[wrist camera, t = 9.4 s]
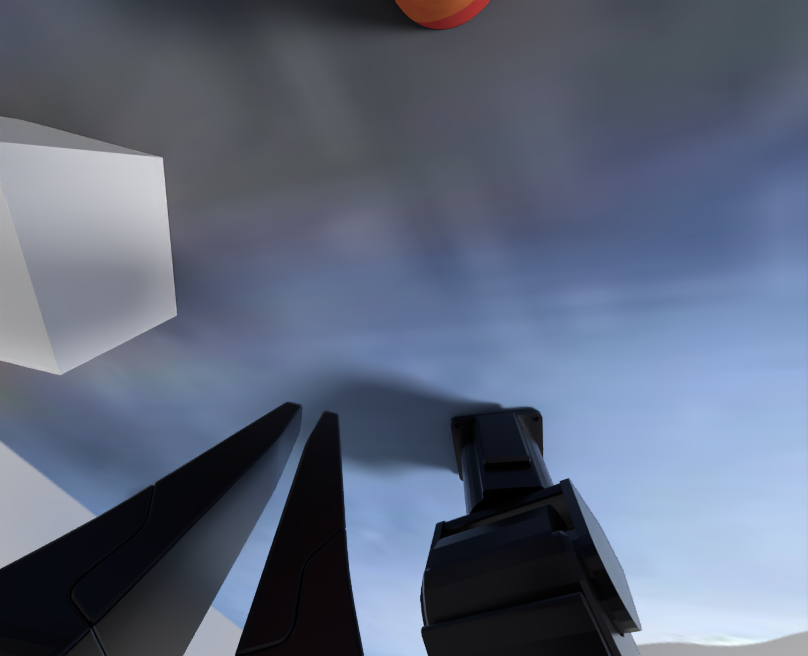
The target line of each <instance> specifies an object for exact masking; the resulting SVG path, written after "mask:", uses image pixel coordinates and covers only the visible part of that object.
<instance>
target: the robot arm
mask: <svg viewBox="0 0 808 656" xmlns="http://www.w3.org/2000/svg"><path fill="white" fill-rule="evenodd" d="M533 416H536V417H534V418H532V417H533ZM301 417H302V405H301V404H297V403H293V402H286V403H284V404H282V405H281V406H279V407H277V408H276V409H274V410H273V411H271V412H269V413H268V414H266V415H264V416H263V417H261V418H260V419H258V420H256V421H255V422H253V423H251V424H250V425H248V426H246V427H245V428H243V429H242V430H240V431H238V432H237V433H235V434H233V435H232V436H230V437H229V438H227V439H225V440H224V441H222V442H220V443H219V444H217V445H216V446H214V447H212V448H211V449H209V450H207V451H206V452H204V453H202V454H201V455H199V456H198V457H196V458H194V459H193V460H191V461H189V462H188V463H186V464H185V465H183V466H181V467H180V468H178V469H176V470H175V471H173V472H172V473H170V474H168V475H167V476H165V477H163V478H162V479H160V480H158V481H157V482H156V483H155V485H150V486H148V487H147V488H145V489H144V490H142V491H140V492H139V493H137V494H135V495H134V496H132V497H130V498H129V499H127V500H125V501H124V502H122V503H120V504H119V505H117V506H115V507H114V508H112V509H110V510H108V511H107V512H105V513H103V514H102V515H100V516H98V517H96V518H95V519H93V520H91V521H89V522H87V523H85V524H84V525H82V526H80V527H78V528H76V529H75V530H73V531H71V532H69V533H67V534H65V535H63V536H62V537H60V538H58V539H56V540H54V541H52V542H50V543H48V544H47V545H45V546H43V547H41V548H39V549H37V550H35V551H34V552H31V553H29V554H28V555H26V556H24V557H22V558H20V559H18V560H16V561H14V562H13V563H11V564H9V565H7V566H5V567H3V568H1V569H0V656H183V655H184V653H185V651H186V649H187V647H188V645H189V644H190V642H191V640H192V638H193V636H194V635H195V633H196V631H197V629H198V627H199V626H200V624H201V622H202V620H203V618H204V616H205V615H206V613H207V611H208V609H209V608H210V606H211V604H212V602H213V600H214V599H215V597H216V595H217V593H218V591H219V590H220V588H221V586H222V584H223V582H224V581H225V579H226V577H227V575H228V573H229V572H230V570H231V568H232V566H233V564H234V563H235V561H236V559H237V557H238V555H239V554H240V552H241V550H242V548H243V546H244V545H245V543H246V541H247V539H248V537H249V535H250V534H251V532H252V530H253V528H254V526H255V525H256V523H257V521H258V519H259V517H260V516H261V514H262V512H263V510H264V508H265V507H266V505H267V503H268V501H269V499H270V498H271V496H272V494H273V492H274V490H275V488H276V486H277V484H278V481H279V479H280V477H281V474H282V472H283V470H284V467H285V465H286V463H287V460H288V458H289V455H290V453H291V451H292V448H293V446H294V444H295V441H296V439H297V436H298V434H299V431H300V426H301ZM455 423H460V424H455ZM451 430H452V436H453V442H454V448H455V453H456V459H457V465H458V471H459V476H460V479H461V480H462V481H463V482H464V492H465V502H466V512H467V515H465V516H462V517H459V518H456V519H453V520H450V521H447V522H445V521H442V522H439V523H437V524H436V527H435V532H434V536H433V540H432V544H431V548H430V552H429V556H428V560H427V564H426V568H425V571H424V575H423V580H422V587H421V595H420V602H421V611H422V617H423V623H424V626H423V627H422V629H421V634H422V638H423V641H424V644H425V647H426V650H427V654H428V656H641V654H640V652H639V650H638V648H637V646H636V643H635V641H634V639H633V637H632V635H631V632H637V631H641V630H642V628H641V624H640V621H639V618H638V615H637V611H636V608H635V605H634V602H633V599H632V596H631V593H630V590H629V587H628V583H627V580H626V577H625V574H624V571H623V569H622V567H621V565H620V563H619V561H618V559H617V557H616V555H615V553H614V551H613V549H612V547H611V545H610V543H609V541H608V539H607V537H606V535H605V533H604V532H603V530H602V528H601V526H600V524H599V523H598V521H597V520H596V518H595V517H594V515H593V514H592V512H591V511H590V509H589V507H588V506H587V504H586V503H585V501H584V500H583V498H582V497H581V495H580V494H579V492H578V491H577V489H576V488H575V486H574V485H573V483H572V482H571V480H570V479H569V478H568V479H565V480H562V481H560V483H559V484H556V485H553V483H552V480H551V478H550V475H549V472H548V470H547V467H546V465H545V462H544V460H543V423H542V415H541V413H540V412H539V411H538V410H523V411H512V412H501V413H491V414H480V415H469V416H458V417H454V418H452V419H451ZM345 528H346V523H345V507H344V491H343V475H342V459H341V443H340V427H339V415H338V413H335V412H330V411H324V412H323V413H322V415H321V417H320V419H319V420H318V422H317V424H316V426H315V428H314V429H313V431H312V433H311V435H310V437H309V438H308V440H307V442H306V445H305V447H304V450H303V453H302V456H301V459H300V462H299V465H298V468H297V471H296V474H295V477H294V480H293V483H292V486H291V489H290V491H289V494H288V497H287V500H286V503H285V506H284V509H283V512H282V515H281V518H280V521H279V524H278V527H277V530H276V533H275V536H274V539H273V542H272V545H271V548H270V551H269V554H268V557H267V560H266V563H265V566H264V569H263V572H262V575H261V578H260V581H259V584H258V587H257V590H256V593H255V596H254V599H253V602H252V605H251V608H250V611H249V614H248V617H247V620H246V623H245V626H244V629H243V632H242V635H241V638H240V641H239V644H238V647H237V650H236V653H235V656H364V653H363V648H362V642H361V637H360V632H359V626H358V621H357V616H356V610H355V605H354V598H353V592H352V586H351V579H350V572H349V561H348V551H347V536H346V530H345Z"/></svg>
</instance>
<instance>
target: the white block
mask: <svg viewBox="0 0 808 656" xmlns="http://www.w3.org/2000/svg"><path fill="white" fill-rule="evenodd" d="M175 316H177V307H176V297H175V286H174V275H173V264H172V253H171V243H170V232H169V221H168V210H167V199H166V189H165V178H164V167H163V158H162V157H158V156H155V155H151V154H147V153H144V152H140V151H136V150H132V149H129V148H125V147H121V146H117V145H114V144H110V143H106V142H103V141H99V140H95V139H91V138H88V137H84V136H80V135H76V134H73V133H69V132H65V131H62V130H58V129H54V128H50V127H47V126H43V125H39V124H35V123H32V122H28V121H24V120H20V119H14V118H7V117H1V116H0V360H1V361H5V362H9V363H13V364H17V365H21V366H25V367H29V368H33V369H37V370H41V371H45V372H49V373H53V374H57V375H62V374H64V373H66V372H68V371H70V370H72V369H73V368H75V367H77V366H79V365H81V364H83V363H85V362H87V361H89V360H91V359H93V358H95V357H97V356H99V355H101V354H103V353H105V352H107V351H109V350H111V349H113V348H115V347H116V346H118V345H120V344H122V343H124V342H126V341H128V340H130V339H132V338H134V337H136V336H138V335H140V334H142V333H144V332H146V331H148V330H150V329H152V328H154V327H156V326H157V325H159V324H161V323H163V322H165V321H167V320H169V319H171V318H173V317H175Z"/></svg>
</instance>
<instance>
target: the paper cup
mask: <svg viewBox="0 0 808 656" xmlns="http://www.w3.org/2000/svg"><path fill="white" fill-rule="evenodd" d="M395 1H396V3H397V4H398V6H399V7H400V8H401V10H402V11H403V12H404V13H405V14H406V15H407V16H408V17H409V18H410V19H412V20H413V21H415V22H416V23H418V24H420V25H422V26H424V27H427V28H431V29H450V28H454V27H457V26H460V25H462V24H464V23H466V22H468V21H469V20H471V19H472V18H473V17H475V16H476V15H477V14H478V13H479V12H480V11H481V10H482V9H483V8H484V7H485V6H486V5H487V4H488V2H489V1H490V0H395Z"/></svg>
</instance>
